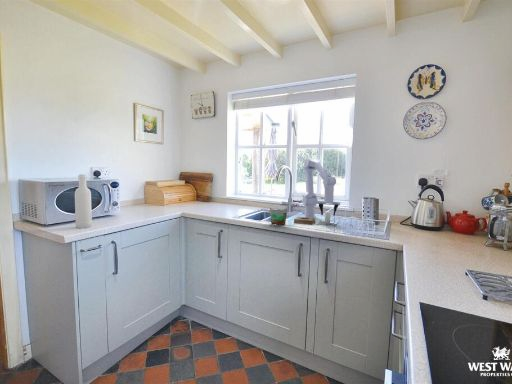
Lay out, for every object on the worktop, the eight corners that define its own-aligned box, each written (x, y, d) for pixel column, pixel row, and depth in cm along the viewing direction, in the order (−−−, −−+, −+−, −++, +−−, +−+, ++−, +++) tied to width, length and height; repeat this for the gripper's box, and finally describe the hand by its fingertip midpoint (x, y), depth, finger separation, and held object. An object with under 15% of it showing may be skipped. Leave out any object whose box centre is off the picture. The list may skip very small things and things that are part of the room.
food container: (265, 224, 167) (266, 208, 166) (269, 222, 172) (270, 207, 171) (283, 226, 161) (284, 210, 160) (287, 224, 166) (287, 209, 166)
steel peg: (325, 223, 171) (325, 211, 170) (325, 222, 174) (326, 211, 174) (329, 224, 170) (330, 212, 169) (330, 223, 173) (330, 211, 173)
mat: (319, 221, 181) (319, 220, 181) (337, 222, 177) (337, 222, 177) (317, 224, 168) (317, 224, 168) (336, 226, 164) (336, 226, 164)
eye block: (297, 220, 184) (297, 216, 183) (314, 221, 179) (315, 217, 179) (293, 222, 172) (294, 219, 172) (312, 224, 168) (312, 220, 168)
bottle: (74, 226, 149) (72, 174, 146) (89, 224, 154) (88, 174, 152) (77, 229, 143) (75, 174, 141) (94, 227, 149) (92, 174, 147)
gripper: (316, 195, 170) (316, 215, 171) (340, 196, 164) (339, 217, 166) (318, 194, 176) (317, 214, 177) (340, 195, 171) (339, 215, 172)
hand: (328, 215), depth 172 cm, fingers open, 7 cm apart
